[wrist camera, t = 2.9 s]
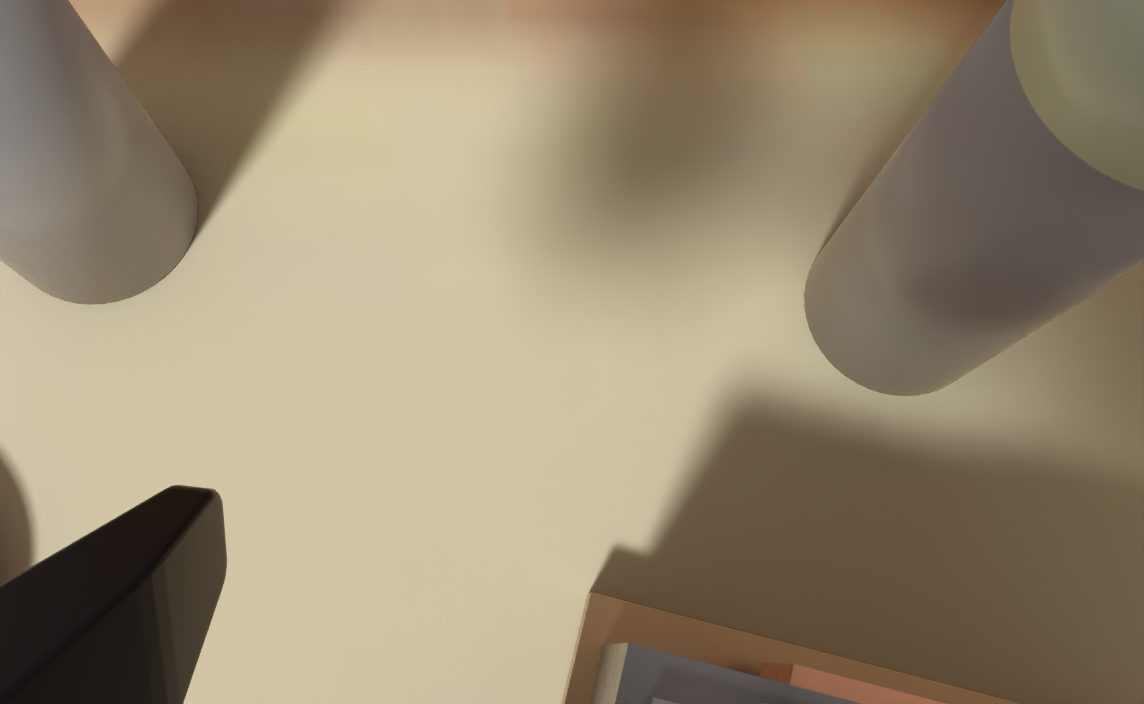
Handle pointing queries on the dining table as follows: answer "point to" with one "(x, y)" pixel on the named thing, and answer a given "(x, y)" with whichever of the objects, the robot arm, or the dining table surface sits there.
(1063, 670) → the dining table surface
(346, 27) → the dining table surface
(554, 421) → the dining table surface
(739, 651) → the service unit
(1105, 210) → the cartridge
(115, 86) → the cartridge
